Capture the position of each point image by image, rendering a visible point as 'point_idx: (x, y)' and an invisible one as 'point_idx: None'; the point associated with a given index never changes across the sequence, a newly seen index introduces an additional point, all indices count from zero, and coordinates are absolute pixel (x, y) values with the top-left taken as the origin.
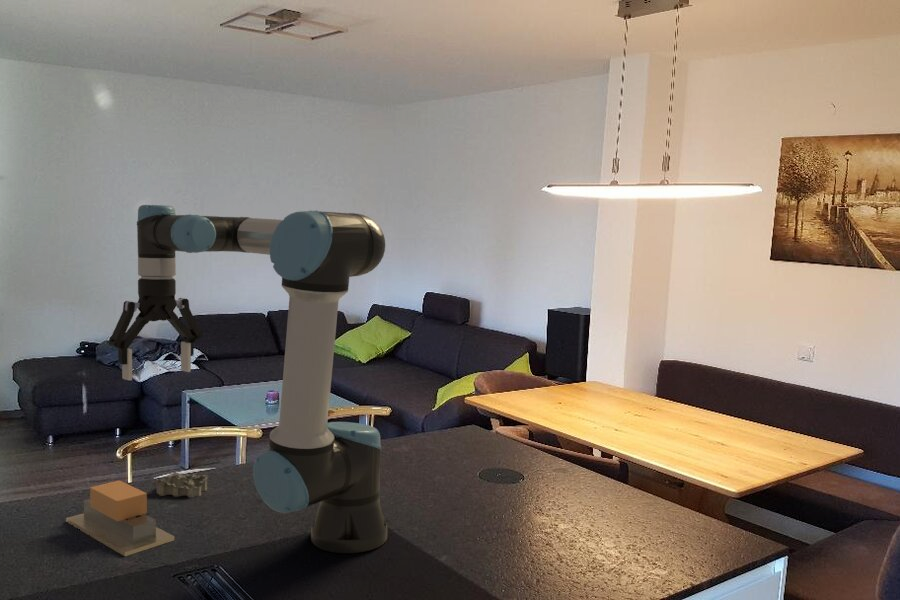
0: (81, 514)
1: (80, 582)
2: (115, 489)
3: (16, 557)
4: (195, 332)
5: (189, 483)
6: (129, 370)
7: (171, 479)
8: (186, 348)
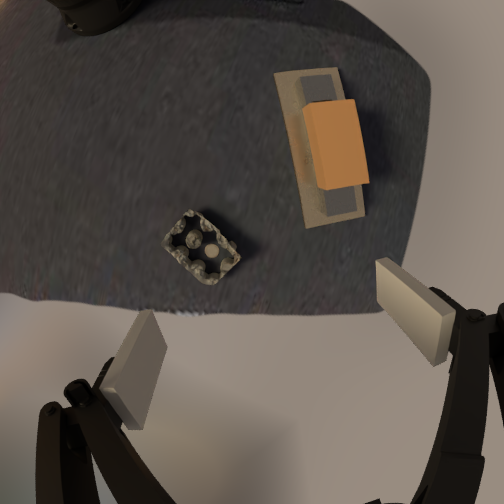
0: (348, 217)
1: (382, 47)
2: (343, 149)
3: (420, 145)
4: (58, 427)
5: (194, 235)
6: (401, 272)
7: (209, 277)
8: (127, 377)
